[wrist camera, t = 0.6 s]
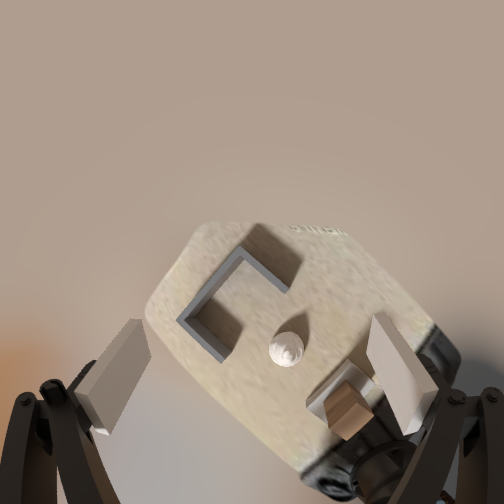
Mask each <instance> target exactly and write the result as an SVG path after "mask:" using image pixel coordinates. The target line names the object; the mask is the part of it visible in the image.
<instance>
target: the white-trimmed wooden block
mask: <svg viewBox="0 0 504 504" xmlns="http://www.w3.org/2000/svg"><path fill="white" fill-rule="evenodd" d="M375 385H376V384H375V382H374V381H373V380H372V379H371V378H370V377H369V376H368V375H367V374H365V373H364V372H363V371H362V370H361V369H359V368H358V367H357V366H356V365H355V364H353V363H352V362H351V361H350V360H349V359H347V360H346V361H345V362H344V363H343V364H342V365H341V366H340V367H339V368H338V369H337V371H336V372H335V373H334V374H333V375H332V376H331V377H330V378H329V379H328V380H327V381H326V382H325V383H324V384H323V385H322V386H321V387H320V388H319V389H318V390H317V391H316V392H315V393H314V394H313V395H312V396H311V397H309V398H308V399H307V400H306V408H307V409H308V410H309V411H311V412H312V413H313V414H315V415H316V416H317V417H319V418H320V419H321V420H323V421H324V422H325V423H327V424H328V427H329V429H330V430H332V431H333V432H334V433H336V434H337V435H339V436H340V437H342V438H343V439H345V440H346V441H347V440H348V439H350V438H351V437H352V436H353V435H354V434H355V433H356V432H357V431H359V430H360V429H361V428H362V427H363V426H364V425H365V424H366V423H367V422H368V421H369V420H370V419H371V418H372V417H373V416H374V414H373V413H372V411H371V409H370V407H369V406H368V404H367V402H366V401H365V399H364V397H365V396H366V395H367V394H368V393H369V392H370V390H371V389H372V388H373V387H374V386H375Z"/></svg>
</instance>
